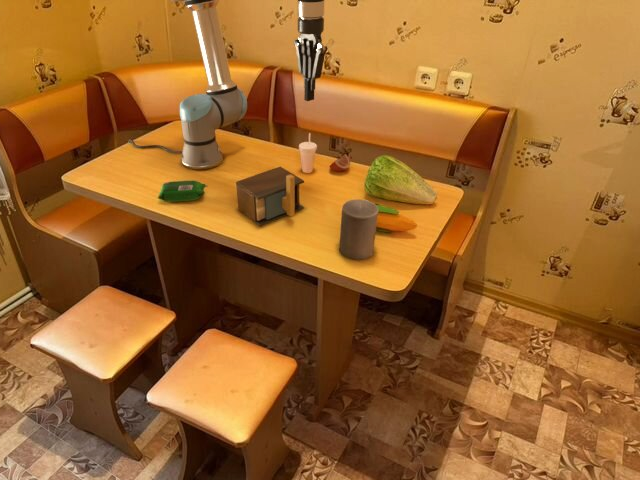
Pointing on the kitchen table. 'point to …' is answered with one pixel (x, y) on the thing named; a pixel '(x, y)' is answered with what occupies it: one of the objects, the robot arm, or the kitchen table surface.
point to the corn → (392, 220)
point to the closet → (264, 193)
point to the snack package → (181, 191)
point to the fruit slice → (341, 163)
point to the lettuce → (397, 182)
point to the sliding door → (281, 200)
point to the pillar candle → (358, 229)
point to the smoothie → (307, 155)
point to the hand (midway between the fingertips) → (309, 99)
